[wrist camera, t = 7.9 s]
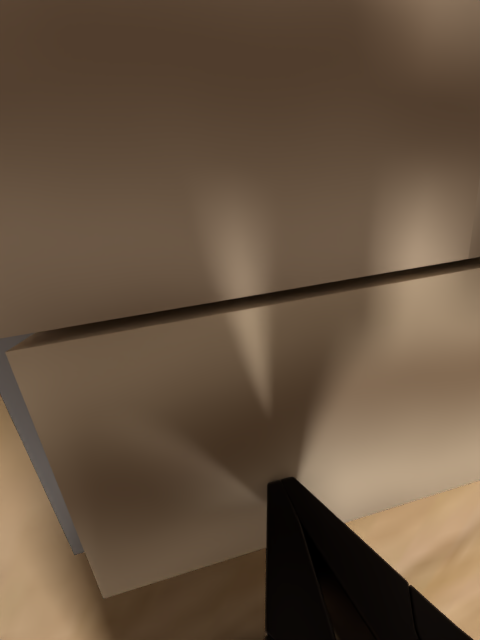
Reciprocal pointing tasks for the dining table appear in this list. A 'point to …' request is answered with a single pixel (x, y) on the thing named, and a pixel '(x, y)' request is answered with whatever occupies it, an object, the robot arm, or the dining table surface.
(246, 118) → the fixed plank row
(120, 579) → the loose plank
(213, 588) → the dining table surface
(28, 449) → the underlay mat
